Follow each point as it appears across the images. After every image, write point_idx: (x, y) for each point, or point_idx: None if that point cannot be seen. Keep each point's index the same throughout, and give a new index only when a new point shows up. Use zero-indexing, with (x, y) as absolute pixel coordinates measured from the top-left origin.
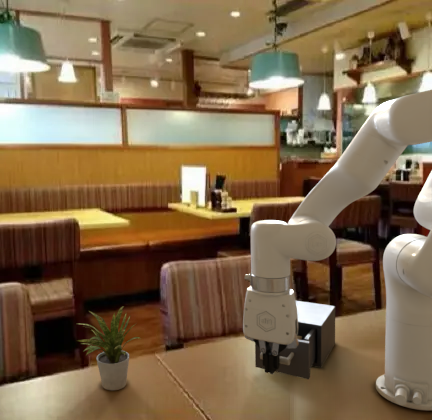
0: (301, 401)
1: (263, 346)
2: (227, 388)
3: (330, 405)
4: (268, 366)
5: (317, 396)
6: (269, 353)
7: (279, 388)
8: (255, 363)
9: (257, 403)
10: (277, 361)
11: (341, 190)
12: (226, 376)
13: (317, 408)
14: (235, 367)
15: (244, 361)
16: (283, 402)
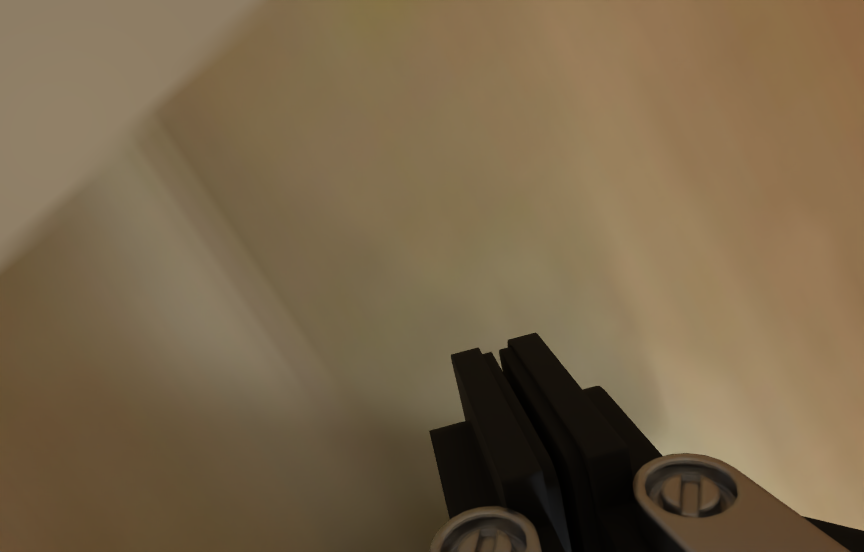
0: (210, 353)
1: (727, 543)
2: (749, 124)
3: (23, 448)
4: (518, 383)
5: (167, 487)
6: (583, 524)
7: (435, 397)
8: None
9: (447, 91)
10: (444, 493)
11: None
12: (834, 273)
13: (63, 350)
14: (833, 424)
15: None
16: (301, 248)
